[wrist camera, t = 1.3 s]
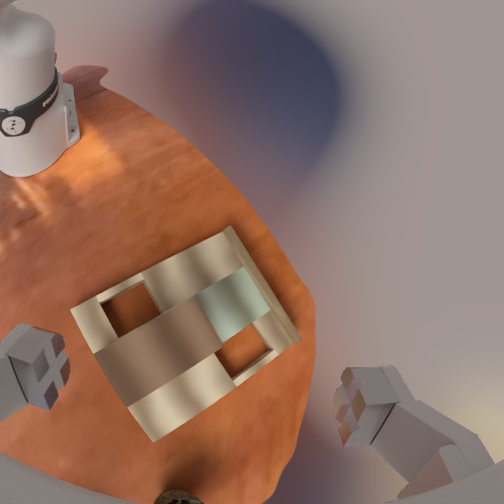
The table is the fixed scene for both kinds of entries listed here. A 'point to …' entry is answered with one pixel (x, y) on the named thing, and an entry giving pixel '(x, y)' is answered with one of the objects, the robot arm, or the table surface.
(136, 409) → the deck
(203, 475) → the table surface
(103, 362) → the block
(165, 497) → the cup
